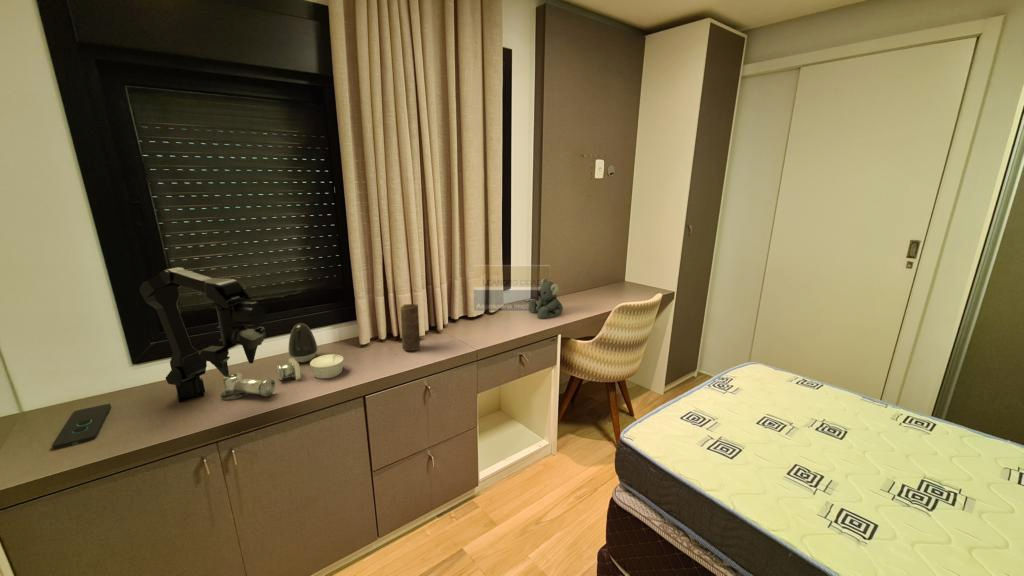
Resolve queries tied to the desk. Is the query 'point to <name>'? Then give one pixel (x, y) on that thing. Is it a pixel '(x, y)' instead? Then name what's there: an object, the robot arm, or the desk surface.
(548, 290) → the koala plush
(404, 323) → the candle
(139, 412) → the desk surface
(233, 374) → the elbow
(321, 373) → the ramekin
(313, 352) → the black egg-shaped dome
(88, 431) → the smart home device
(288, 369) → the metal pipe fitting
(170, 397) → the desk surface
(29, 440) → the desk surface
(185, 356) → the robot arm
